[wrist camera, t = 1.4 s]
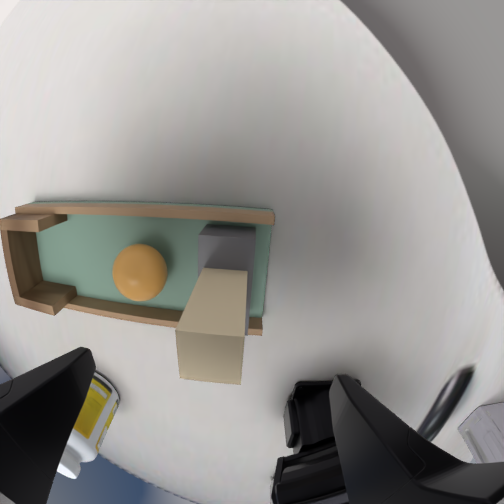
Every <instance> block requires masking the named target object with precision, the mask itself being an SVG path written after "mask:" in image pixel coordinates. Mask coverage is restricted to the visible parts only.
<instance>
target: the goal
mask: <svg viewBox="0 0 504 504" xmlns="http://www.w3.org/2000/svg"><path fill="white" fill-rule="evenodd" d="M65 221H67V214H13V215H10V216H7V217H5V218H2V219H0V231H1V239H2V246H3V252H4V258H5V263H6V268H7V273H8V277H9V282H10V286H11V290H12V294H13V297H14V301H15V304H17V305H20V306H23V307H26V308H30V309H33V310H36V311H40V312H43V313H47V314H50V315H54V316H55V315H56V314H57V313H58V312H59V311H60V310H61V309H62V308H64V307H65V306H66V305H67V304H68V303H69V302H70V301H71V300H73V299H74V298H75V297H76V296H77V290H76V286H71V285H65V284H60V283H55V282H50V281H45V280H43V275H42V270H41V264H40V258H39V252H38V245H37V237H36V232H41V231H43V230H45V229H48V228H50V227H52V226H55V225H57V224H60V223H62V222H65Z"/></svg>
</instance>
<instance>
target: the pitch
mask: <svg viewBox="0 0 504 504" xmlns="http://www.w3.org/2000/svg"><path fill="white" fill-rule="evenodd" d="M15 212H16V214H67V221H65V222H62V223H60V224H57V225H55V226H52V227H50V228H48V229H45V230H43V231H41V232H36V237H37V245H38V252H39V258H40V264H41V270H42V275H43V280H45V281H50V282H55V283H60V284H65V285H71V286H76V290H77V296H76V297H75V298H74V299H73V300H71V301H70V302H69V303H68V304H67V305H66V306H65V307H64V308H67V309H72V310H76V311H81V312H85V313H90V314H95V315H100V316H105V317H110V318H116V319H121V320H127V321H133V322H139V323H145V324H152V325H159V326H166V327H174V328H176V327H177V325H178V323H179V320H180V318H181V316H182V314H183V311H184V309H185V307H186V304H187V302H188V300H189V298H190V296H191V293H192V291H193V289H194V287H195V284H196V282H197V280H198V235H199V233H200V232H201V231H202V229H203V228H204V227H205V226H206V224H215V225H229V226H243V227H255V228H256V245H255V257H254V268H253V280H252V291H251V303H250V314H249V326H248V335H260V336H262V330H263V328H262V313H263V304H264V295H265V286H266V277H267V267H268V257H269V248H270V238H271V228H272V225H274V221H275V215H274V213H273V211H272V209H262V208H249V207H236V206H221V205H204V204H185V203H161V202H125V201H55V202H32V203H29V204H25V205H22V206H19V207H15ZM133 244H146V245H149V246H151V247H153V248H155V249H156V250H157V251H158V252H159V253H160V254H161V255H162V256H163V258H164V260H165V262H166V265H167V271H168V276H167V281H166V284H165V286H164V288H163V290H162V291H161V292H160V293H159V294H158V295H157V296H156V297H154V298H152V299H150V300H147V301H134V300H131V299H128V298H127V297H125V296H124V295H122V294H121V293H120V292H119V290H118V289H117V287H116V286H115V283H114V280H113V276H112V269H113V264H114V261H115V259H116V257H117V255H118V254H119V253H120V252H121V251H122V250H123V249H124V248H126V247H128V246H130V245H133Z"/></svg>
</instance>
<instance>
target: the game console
mask: <svg viewBox="0 0 504 504" xmlns="http://www.w3.org/2000/svg"><path fill="white" fill-rule="evenodd" d="M458 430H459V432H460V434H461V435H462V437H463V439H464V441H465V442H466V444H467V446H468V448H469V449H470V451H471V453H472V455H473V457H474V459H475V460H476V462H477V463H493V462H504V402H502V403H497V404H492V405H486V406H480V407H478V408H477V409H476V410H475V411H473V413H472V414H471V415H470V416H469V417H468V418H467V419H466V420H465V421H464V422H463V423H462V425H461V426H460V427H459V428H458Z"/></svg>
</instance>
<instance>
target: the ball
mask: <svg viewBox="0 0 504 504" xmlns="http://www.w3.org/2000/svg"><path fill="white" fill-rule="evenodd" d="M112 276H113V280H114V283H115V286H116V287H117V289H118V290H119V292H120V293H121V294H122V295H124V296H125V297H127V298H128V299H131V300H134V301H147V300H150V299H152V298H154V297H156V296H157V295H158V294H159V293H160V292H161V291H162V290H163V288H164V286H165V284H166V281H167V276H168V271H167V265H166V262H165V260H164V258H163V256H162V255H161V254H160V253H159V252H158V251H157V250H156V249H155V248H153V247H151V246H149V245H146V244H133V245H130V246H128V247H126V248H124V249H123V250H122V251H121V252H120V253H119V254H118V255H117V257H116V259H115V261H114V264H113V269H112Z"/></svg>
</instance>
